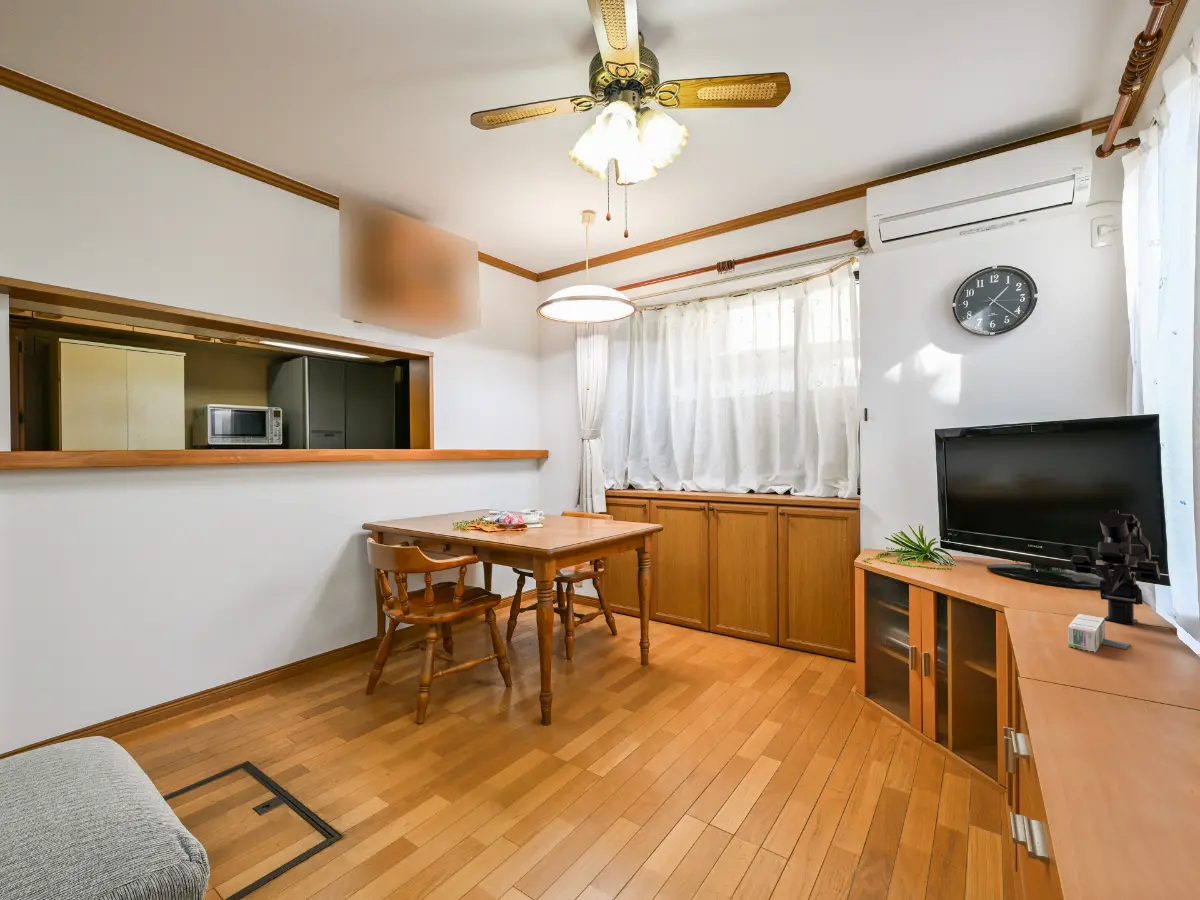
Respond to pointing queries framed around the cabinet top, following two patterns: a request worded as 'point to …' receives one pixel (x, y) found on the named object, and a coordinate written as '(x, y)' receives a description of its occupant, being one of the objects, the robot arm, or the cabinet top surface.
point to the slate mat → (1115, 643)
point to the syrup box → (1086, 632)
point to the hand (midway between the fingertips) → (1110, 591)
